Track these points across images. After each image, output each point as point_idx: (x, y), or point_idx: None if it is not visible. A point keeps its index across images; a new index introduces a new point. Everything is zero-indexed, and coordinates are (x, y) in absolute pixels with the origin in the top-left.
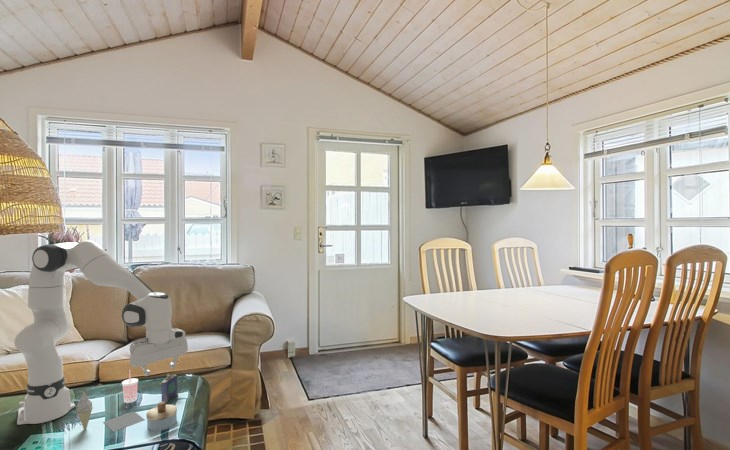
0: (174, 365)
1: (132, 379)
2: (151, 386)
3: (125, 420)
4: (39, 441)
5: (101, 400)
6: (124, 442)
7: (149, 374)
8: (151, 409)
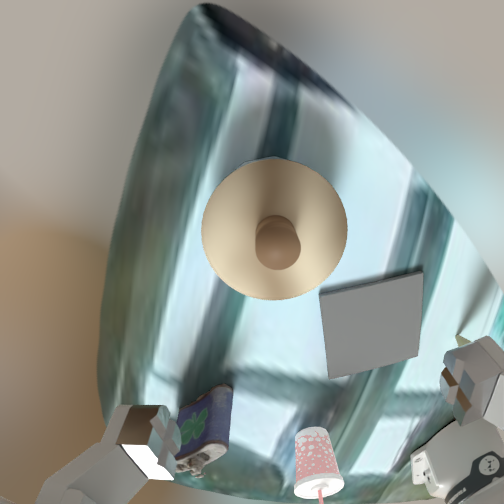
0: (121, 422)
1: (308, 494)
2: (240, 475)
3: (371, 331)
4: None
5: (362, 462)
6: (412, 175)
7: (458, 349)
8: (312, 284)
